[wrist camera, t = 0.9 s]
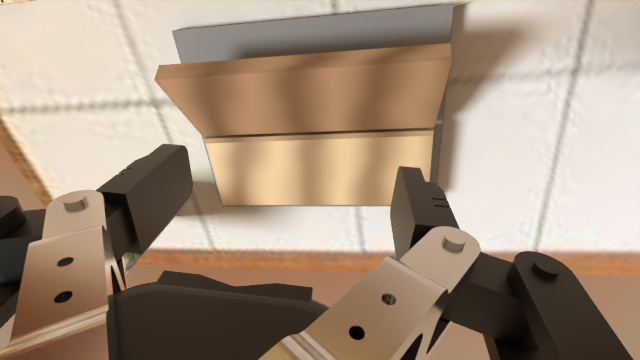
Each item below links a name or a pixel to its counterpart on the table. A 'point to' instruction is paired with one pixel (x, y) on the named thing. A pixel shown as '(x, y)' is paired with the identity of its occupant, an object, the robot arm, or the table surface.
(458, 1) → the corner molding
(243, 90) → the walnut plank
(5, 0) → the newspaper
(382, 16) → the board
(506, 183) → the table surface
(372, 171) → the oak plank
